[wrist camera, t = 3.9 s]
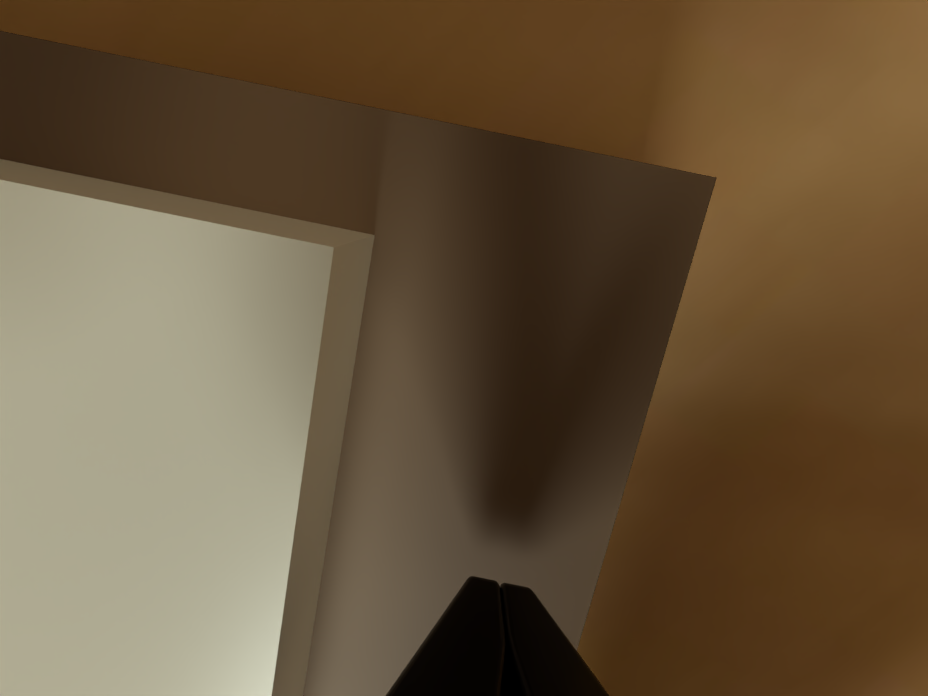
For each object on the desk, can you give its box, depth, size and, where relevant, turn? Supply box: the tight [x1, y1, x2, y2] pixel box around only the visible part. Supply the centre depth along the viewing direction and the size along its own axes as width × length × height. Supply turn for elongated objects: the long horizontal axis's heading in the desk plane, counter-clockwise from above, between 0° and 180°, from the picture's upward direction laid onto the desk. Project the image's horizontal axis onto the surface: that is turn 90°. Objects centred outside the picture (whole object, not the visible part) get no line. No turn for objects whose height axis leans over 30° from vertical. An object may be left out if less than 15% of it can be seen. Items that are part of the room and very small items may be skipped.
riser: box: [0, 31, 716, 696], centre depth 10 cm, size 16×12×4 cm
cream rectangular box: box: [0, 159, 375, 696], centre depth 8 cm, size 6×9×2 cm, turn 169°
